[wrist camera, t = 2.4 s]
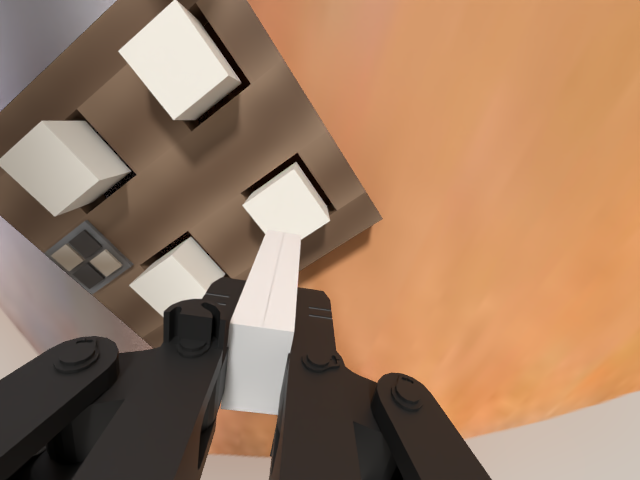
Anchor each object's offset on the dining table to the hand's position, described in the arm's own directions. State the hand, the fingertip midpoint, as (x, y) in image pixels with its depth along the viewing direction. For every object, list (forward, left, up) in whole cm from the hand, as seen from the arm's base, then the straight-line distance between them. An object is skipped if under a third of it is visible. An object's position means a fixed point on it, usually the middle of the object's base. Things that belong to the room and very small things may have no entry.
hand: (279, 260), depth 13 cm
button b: (0, -10, -10) cm, 14 cm away
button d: (0, 0, -10) cm, 10 cm away
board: (-5, -6, -12) cm, 15 cm away
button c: (-10, 0, -10) cm, 14 cm away
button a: (-10, -10, -10) cm, 17 cm away
